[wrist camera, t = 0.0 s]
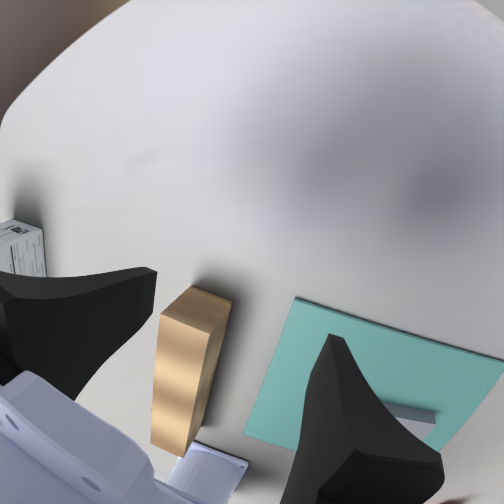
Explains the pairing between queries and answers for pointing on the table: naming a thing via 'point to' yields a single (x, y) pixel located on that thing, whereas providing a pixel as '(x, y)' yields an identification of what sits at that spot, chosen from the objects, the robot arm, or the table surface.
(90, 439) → the robot arm
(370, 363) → the board
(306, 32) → the table surface
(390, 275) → the table surface
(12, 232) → the light bulb box
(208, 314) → the bronze bar
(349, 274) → the table surface
